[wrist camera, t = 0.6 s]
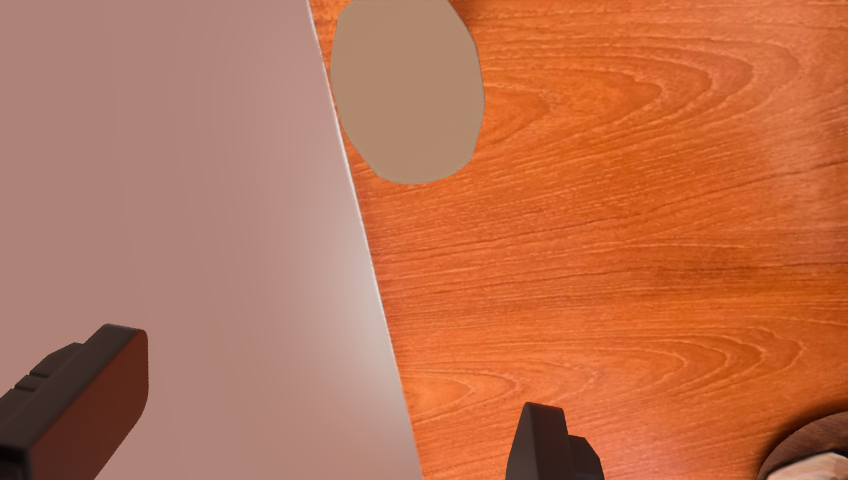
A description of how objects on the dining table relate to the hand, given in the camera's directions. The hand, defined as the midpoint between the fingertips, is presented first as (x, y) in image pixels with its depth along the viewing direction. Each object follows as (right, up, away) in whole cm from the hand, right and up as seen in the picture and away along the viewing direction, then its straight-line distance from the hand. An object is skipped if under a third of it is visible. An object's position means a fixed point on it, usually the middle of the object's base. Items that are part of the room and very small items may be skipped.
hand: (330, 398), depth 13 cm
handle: (+3, +14, +21) cm, 26 cm away
